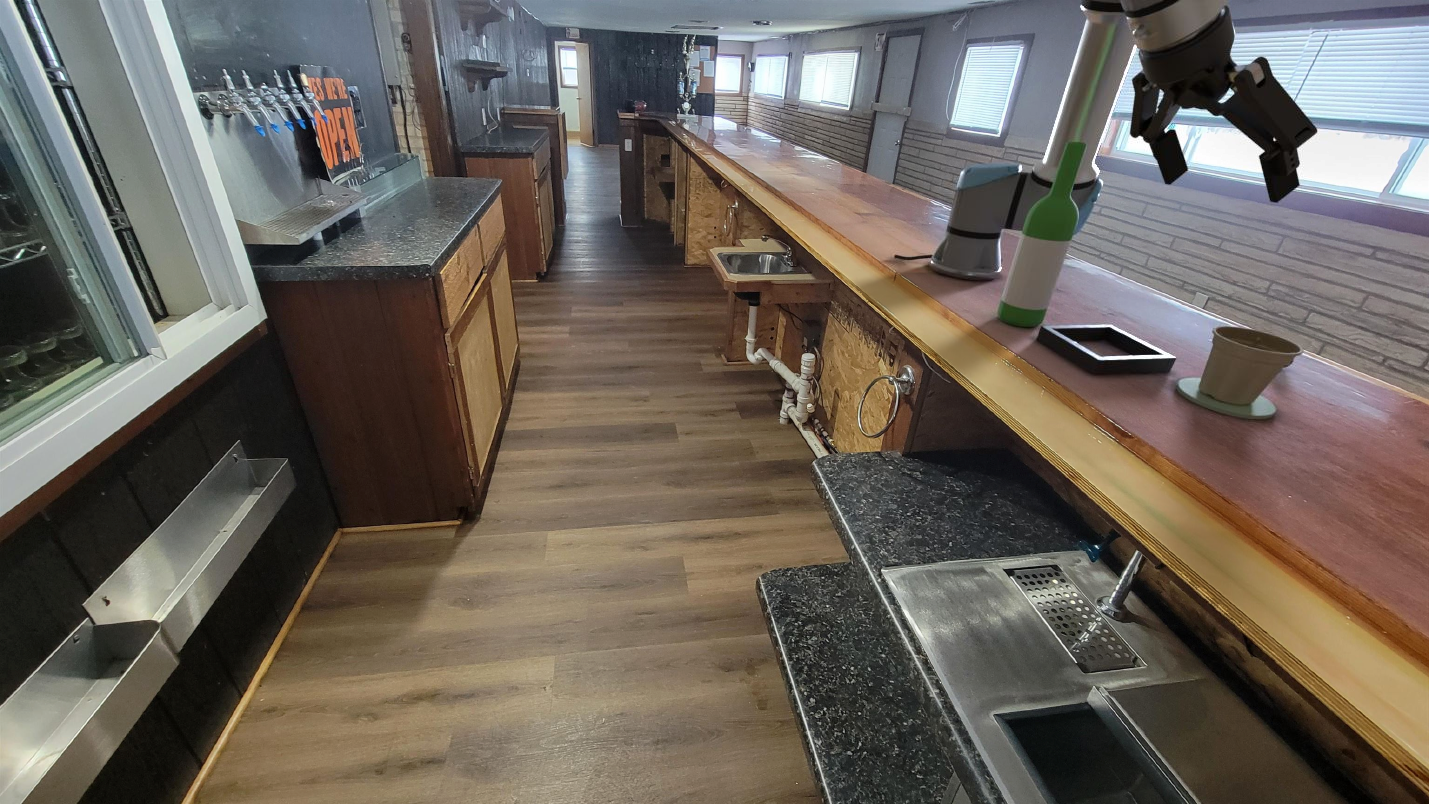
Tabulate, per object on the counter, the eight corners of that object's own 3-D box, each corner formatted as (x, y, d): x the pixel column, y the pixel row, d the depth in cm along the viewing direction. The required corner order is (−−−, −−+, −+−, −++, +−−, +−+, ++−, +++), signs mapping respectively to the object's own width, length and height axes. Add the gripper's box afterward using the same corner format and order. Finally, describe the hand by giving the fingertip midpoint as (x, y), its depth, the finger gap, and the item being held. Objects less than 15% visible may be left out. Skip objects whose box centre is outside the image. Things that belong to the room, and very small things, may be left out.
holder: (1093, 375, 85) (1099, 360, 83) (1036, 339, 96) (1040, 325, 95) (1169, 372, 87) (1177, 357, 85) (1105, 337, 98) (1110, 324, 97)
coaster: (1174, 400, 79) (1176, 396, 78) (1177, 374, 86) (1179, 370, 86) (1276, 428, 73) (1279, 424, 73) (1271, 397, 81) (1273, 394, 80)
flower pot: (1236, 382, 83) (1267, 328, 79) (1286, 415, 75) (1324, 356, 71) (1170, 377, 84) (1197, 323, 79) (1212, 409, 76) (1245, 350, 71)
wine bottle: (994, 323, 102) (1050, 142, 87) (996, 310, 108) (1048, 139, 93) (1042, 332, 99) (1108, 146, 84) (1041, 318, 105) (1102, 143, 90)
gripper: (1063, 60, 70) (1117, 191, 80) (1269, 49, 49) (1308, 228, 59) (1116, 13, 69) (1164, 152, 79) (1353, -21, 47) (1378, 176, 57)
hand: (1226, 185), depth 69 cm, fingers open, 13 cm apart
